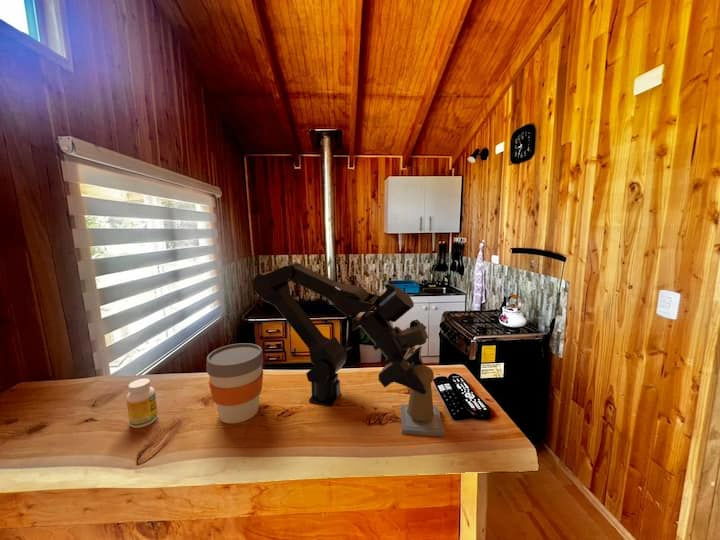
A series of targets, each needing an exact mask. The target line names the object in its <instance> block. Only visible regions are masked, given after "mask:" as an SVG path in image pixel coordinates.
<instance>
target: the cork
mask: <svg viewBox="0 0 720 540" xmlns="http://www.w3.org/2000/svg"><path fill="white" fill-rule="evenodd" d="M413 370H414V372H415V374H416V375H417V377H418V378H419V380H420V381H421V383H422V384H423V386H424V387H425V389H426V390H427V393H425V394H421V393H419V392H417V391H415V390H412V389H410V392H409V397H408V403H407V405H408V409H407V413H408V415H409V416H410V417H412V418H413V419H415V420H419V421H427V420H430V419H432V418H433V416H434V411H433V406H434V403H433V391H432V383H433V381H434V375H435V374H434V371H433V369H432V368H431V367H430V366H428V365H425V364H424V365H416V366H414V369H413Z"/></svg>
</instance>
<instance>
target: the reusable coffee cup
mask: <svg viewBox="0 0 720 540" xmlns="http://www.w3.org/2000/svg"><path fill="white" fill-rule="evenodd" d="M263 363H264V355H263V349H262V347H261V346H260V345H258V344H255V343H250V342H249V343H247V342H246V343H245V342H244V343H243V342H242V343H233V344H228V345H225V346H221V347H219V348H215V349H214V350H213V351H211V352H210V353H209V354H208V355H207V357H206V365H205V366H206V369H205V370H206V374H208V377H209V380H208V384H209V389H210V393H211V394H210V395H211V396H212V401H213V402H214V403H215V405H216V409H217V412H218V417H219V420H220V421H221V422H223V423H226V424H239V423H243V422H245V421H248V420H250V419H251V418H253V417H254V416H256V414H257V413H258V411H259V408H260V395H261V394H260V393H261V392H262V389H263V379H264V370H263V368H262V366H263Z"/></svg>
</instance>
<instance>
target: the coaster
mask: <svg viewBox="0 0 720 540" xmlns="http://www.w3.org/2000/svg"><path fill="white" fill-rule="evenodd" d="M407 409H408V404H400V420H401V434H404V435H419V436H434V437H445V432H446V431H445V429H444V425H443V421H442V416H441V414H440V410H439V409H440V408H439V406H436V405H435V406H434V405H433V411H434V416H433V418H432V419H430V420H427V421H419V420H415V419H413V418H412V417H410V416H409V415H408V413H407Z"/></svg>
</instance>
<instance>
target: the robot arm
mask: <svg viewBox="0 0 720 540" xmlns="http://www.w3.org/2000/svg"><path fill="white" fill-rule="evenodd" d="M290 282H294V283H295V284H297V285H299V286H301V287H303V288H305V289H307V290H309V291H311V292H313V293H315V294H317V295H319V296H321V297H324V298H326V299H327V300H328V301H330V302H331V304H332V305H333V307H335V309H337V310H338V311H339V312H340V313H342V314H344V315H345V316H347V317H353V318H352V326H351V331H352V332H353V331H356V330H357V329H358V328H361V329H362V330H363V332H364V333H365V334H366V335H367V336H368V337H369V338H370V340H371V341H372V342H373V343H374V345H373V347H372V348H373V349H374V351H377V350H379V351H380V352H381V353H382V354H383V356H384V357H385V358H386V359H385V360H384V363H385V364H386V365H385V366H383V368H382V369H381V370H380V372H379V373H378V381H379V382H380V384H381V386H383V387H384V388H387V387H388V386H390V385H391V384H392V383H395V384H398V385H402V386H404V387H406V388H408V389H410V390H411V389H412V390H415V391H417V392H419V393H421V394H425V393H427V390H426V389H425V387H424V386H423V384H422V383H421V381H420V380H419V378H418V377H417V375H416V374H415V372H414V370H413V369H414V366H416V365H425V363H424V362H423V359H422V357H421V356H422V355H421V354H422V345H424V344H426V342H427V340H428V338H429V336H428V333H427V326H426V325H424V323H423V322H422V323H421V322H420V320H418V319H414V320H411V322H410V323H409V327H406V328H404V329H401V328H400V327H398V326H394V327H393V325H391V323H396V322H397V321H398V320H399V319H401V318H402V317H403V316H404V315H405V314H407V312H409V311H410V310H411V309H413V308H414V307H415V303H414V301H413V299H412V297H411V296H410V294H408V293H407V292H406V291H404V290H403V289H401V288H400V287H397V285H396V284H395V283H392V284H391V285H389V286H388V288H386V290H385V292H383V293H382V294H381V295H380V294H375V293H372V292H369V291H368V290H367V289H365V288H364V287H361V286H357V285H355V284H354V285H353V284H348V283H340V282H338V281H335V280H334V279H333V280H332V279H330V278H328V277H326V276H324V275H323V274H320V273H318V272H315V271H314V270H312V269H309V268H308V267H305V266H303V265H302V264H301V263H299V262H291V263H288V264H285V265H284V266H283V265H282V267H280V268H277V269H275V270H272V271H267V272H262V273H258V274H257V275H255V276H254V278H253V280H252V289H253V291H254V292H255V294H256V295H257V296H259V297H260V298H261V299H262V300H263V301H264V302H267V303H269V304H270V305H273V306H274V307H275V308H276V309H277V310H278V312H279V313H280V314H281V315H282V317H283V318H284V319H285V320H286V322H287V323H288V324H289V326H290V327H291V328H292V329H293V331H294V332H295V333H296V334H297V336H298V337H299V338H300V339H301V341H302V343H304V345H305V346H306V347H307V349H308V352H309V357H310V362H311V363H312V365H313V367H312V368H310V369H309V370H308V371H307V372H306V373H305V374H306V378H307V381H308V382H311V384H310V385H311V397H309V399H308V401H309V403H313V404H318V405H325V406H333V405H334V404H335V402H336V401H337V399H338V398H339V396H340V394H341V380H340V379H339V374H338V373H337V372H339V371H340V369H341V368H342V367H343V366H344V365H345V364H346V362H347V352H345V347H344V346H343V345H342V344H341V343H340V342H339V340H338V339H337V337H336V336H333V337H331V338H328V337H327V336H325V335H324V334H323V333H322V332H321V330H320V329H319V328H318V327H317V326H316V324H315V323H314V322H313V321H312V320H311V318H310V317H309V316H308V314H307V313H306V311H304V310H303V308H302V306H300V304H299V303H298V302H297V301H296V300H295V297H293V296H292V294H291V290H290V284H289V283H290ZM373 307H375V309H374V310H373V311H371V309H372V308H373ZM360 313H362V314H361V315H360V316H357V315H359V314H360ZM354 316H355V317H354ZM390 322H391V323H390ZM416 346H418V347H417V348H416Z"/></svg>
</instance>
